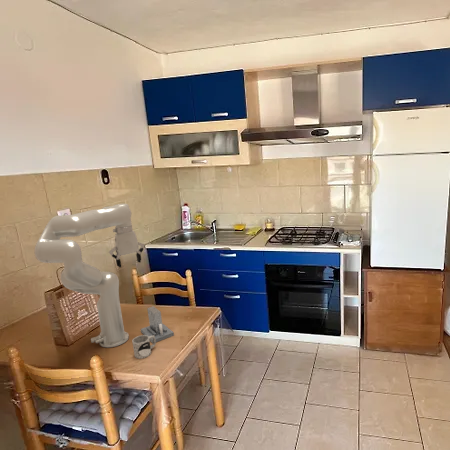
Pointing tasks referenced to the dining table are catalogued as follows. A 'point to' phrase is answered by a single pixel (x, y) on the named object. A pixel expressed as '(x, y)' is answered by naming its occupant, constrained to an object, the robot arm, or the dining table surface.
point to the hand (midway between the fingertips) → (129, 264)
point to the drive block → (154, 319)
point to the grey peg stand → (163, 334)
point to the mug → (143, 346)
